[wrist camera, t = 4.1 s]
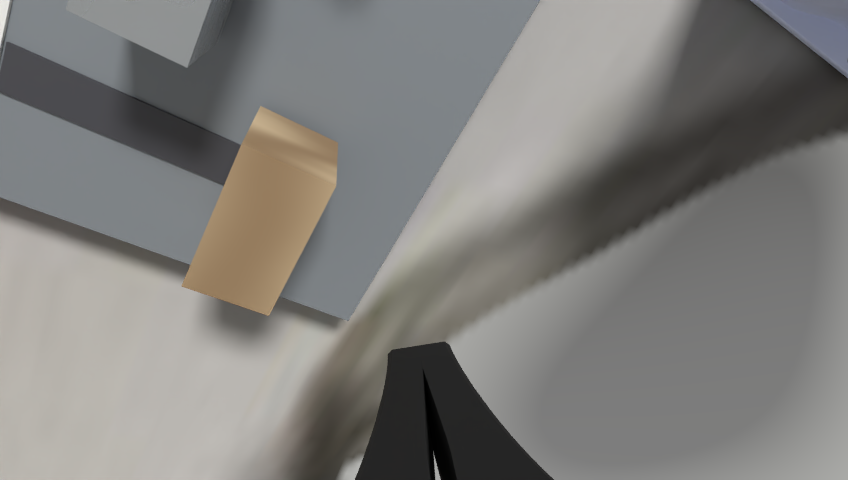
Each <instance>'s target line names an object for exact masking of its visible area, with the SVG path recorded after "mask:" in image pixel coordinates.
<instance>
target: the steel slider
mask: <svg viewBox="0 0 848 480" xmlns="http://www.w3.org/2000/svg"><path fill="white" fill-rule="evenodd" d="M232 3H233V0H68V2H67V6H66V10H67V11H69V12H71V13H73V14H75V15H77V16H80V17H82V18H84V19H86V20H88V21H90V22H92V23H94V24H96V25H98V26H100V27H103V28H105V29H107V30H109V31H111V32H113V33H115V34H117V35H119V36H121V37H124V38H126V39H128V40H130V41H132V42H134V43H136V44H138V45H140V46H142V47H145V48H147V49H149V50H151V51H153V52H155V53H157V54H159V55H161V56H163V57H165V58H168V59H170V60H172V61H174V62H176V63H178V64H180V65H182V66H184V67H186V68H188V67H189V66H190V65H191V64H192V63H194V62H195V61H196V60H197V59H198V58H199V57H201V56H202V55H203V54H204V53H205V52H207V51H208V50H209V49H210V48H211V47H212V46H214V45H215V44H216V43H217V42H218V40H219V38H220V35H221V32H222V30H223V27H224V24H225V22H226V19H227V16H228V14H229V11H230V8H231V5H232Z"/></svg>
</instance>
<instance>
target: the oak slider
mask: <svg viewBox="0 0 848 480" xmlns="http://www.w3.org/2000/svg"><path fill="white" fill-rule="evenodd" d="M337 156H338V142H336V141H334V140H331V139H329V138H327V137H325V136H323V135H321V134H319V133H317V132H315V131H312V130H310V129H308V128H306V127H304V126H302V125H300V124H298V123H296V122H294V121H291V120H289V119H287V118H285V117H283V116H281V115H279V114H277V113H275V112H272V111H270V110H268V109H266V108H264V107H262V106H260V108H259V110H258V112H257V114H256V116H255V118H254V120H253V122H252V124H251V126H250V128H249V130H248V132H247V134H246V136H245V138H244V140H243V142H242V144H241V146H240V149H239V151H238V154H237V156H236V158H235V161H234V163H233V165H232V168H231V170H230V172H229V175H228V177H227V180H226V182H225V184H224V187H223V189H222V191H221V194H220V196H219V199H218V201H217V203H216V206H215V208H214V210H213V213H212V215H211V217H210V220H209V222H208V225H207V227H206V229H205V232H204V234H203V236H202V239H201V241H200V243H199V246H198V248H197V251H196V253H195V255H194V258H193V260H192V262H191V265H190V267H189V270H188V272H187V274H186V277H185V279H184V281H183V284H182V287H185V288H188V289H191V290H194V291H197V292H200V293H203V294H206V295H209V296H211V297H214V298H217V299H220V300H223V301H226V302H229V303H232V304H235V305H238V306H241V307H244V308H247V309H250V310H253V311H256V312H259V313H261V314H264V315H267V316H269V315H270V313H271V311H272V309H273V307H274V305H275V303H276V301H277V299H278V297H279V295H280V294H281V292H282V290H283V288H284V286H285V284H286V282H287V280H288V278H289V276H290V274H291V272H292V270H293V269H294V267H295V265H296V263H297V261H298V259H299V257H300V255H301V253H302V251H303V249H304V247H305V245H306V243H307V242H308V240H309V238H310V236H311V234H312V232H313V230H314V228H315V226H316V224H317V222H318V220H319V218H320V216H321V215H322V213H323V211H324V209H325V207H326V205H327V203H328V201H329V199H330V197H331V195H332V193H333V191H334V189H335V188H336V181H337Z"/></svg>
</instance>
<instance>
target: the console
mask: <svg viewBox="0 0 848 480" xmlns="http://www.w3.org/2000/svg"><path fill="white" fill-rule="evenodd" d="M539 1H540V0H233V3H232V5H231V8H230V11H229V14H228V16H227V19H226V22H225V24H224V27H223V30H222V32H221V35H220V38H219V40H218V42H217V43H216V44H215V45H214V46H212V47H211V48H210V49H209V50H208V51H207V52H205V53H204V54H203V55H202V56H201V57H199V58H198V59H197V60H196V61H195V62H194V63H192V64H191V65H190V66H189V67H188V68H186V67H184V66H182V65H180V64H178V63H176V62H174V61H172V60H170V59H168V58H165V57H163V56H161V55H159V54H157V53H155V52H153V51H151V50H149V49H147V48H145V47H142V46H140V45H138V44H136V43H134V42H132V41H130V40H128V39H126V38H124V37H121V36H119V35H117V34H115V33H113V32H111V31H109V30H107V29H105V28H103V27H100V26H98V25H96V24H94V23H92V22H90V21H88V20H86V19H84V18H82V17H80V16H77V15H75V14H73V13H71V12H69V11H67V10H66V6H67V2H68V0H0V198H3V199H6V200H9V201H12V202H15V203H17V204H20V205H23V206H26V207H29V208H31V209H34V210H37V211H40V212H43V213H45V214H48V215H51V216H54V217H57V218H60V219H62V220H65V221H68V222H71V223H74V224H76V225H79V226H82V227H85V228H88V229H91V230H93V231H96V232H99V233H102V234H105V235H107V236H110V237H113V238H116V239H119V240H122V241H124V242H127V243H130V244H133V245H136V246H138V247H141V248H144V249H147V250H150V251H152V252H155V253H158V254H161V255H164V256H167V257H169V258H172V259H175V260H178V261H181V262H183V263H186V264H189V265H191V262H192V260H193V258H194V255H195V253H196V251H197V248H198V246H199V243H200V241H201V239H202V236H203V234H204V232H205V229H206V227H207V225H208V222H209V220H210V217H211V215H212V213H213V210H214V208H215V206H216V203H217V201H218V199H219V196H220V194H221V191H222V189H223V187H224V184H225V182H226V180H227V177H228V175H229V172H230V170H231V168H232V165H233V163H234V161H235V158H236V156H237V154H238V151H239V149H240V146H241V144H242V142H243V140H244V138H245V136H246V134H247V132H248V130H249V128H250V126H251V124H252V122H253V120H254V118H255V116H256V114H257V112H258V110H259V108H260V106H262V107H264V108H266V109H268V110H270V111H272V112H275V113H277V114H279V115H281V116H283V117H285V118H287V119H289V120H291V121H294V122H296V123H298V124H300V125H302V126H304V127H306V128H308V129H310V130H312V131H315V132H317V133H319V134H321V135H323V136H325V137H327V138H329V139H331V140H334V141H336V142H338V156H337V181H336V188H335V189H334V191H333V193H332V195H331V197H330V199H329V201H328V203H327V205H326V207H325V209H324V211H323V213H322V215H321V216H320V218H319V220H318V222H317V224H316V226H315V228H314V230H313V232H312V234H311V236H310V238H309V240H308V242H307V243H306V245H305V247H304V249H303V251H302V253H301V255H300V257H299V259H298V261H297V263H296V265H295V267H294V269H293V270H292V272H291V274H290V276H289V278H288V280H287V282H286V284H285V286H284V288H283V290H282V292H281V294H280V295H279V297H282V298H285V299H288V300H290V301H293V302H296V303H299V304H302V305H305V306H307V307H310V308H313V309H316V310H319V311H321V312H324V313H327V314H330V315H333V316H336V317H338V318H341V319H344V320H347V321H349V319H350V317H351V316H352V314H353V312H354V311H355V309H356V307H357V305H358V304H359V302H360V300H361V299H362V297H363V295H364V294H365V292H366V290H367V289H368V287H369V285H370V284H371V282H372V280H373V279H374V277H375V275H376V274H377V272H378V270H379V269H380V267H381V265H382V264H383V262H384V260H385V259H386V257H387V255H388V254H389V252H390V250H391V249H392V247H393V245H394V244H395V242H396V240H397V239H398V237H399V235H400V234H401V232H402V230H403V229H404V227H405V225H406V224H407V222H408V220H409V219H410V217H411V215H412V214H413V212H414V210H415V209H416V207H417V205H418V203H419V202H420V200H421V198H422V197H423V195H424V193H425V192H426V190H427V188H428V187H429V185H430V183H431V182H432V180H433V178H434V177H435V175H436V173H437V172H438V170H439V168H440V167H441V165H442V163H443V162H444V160H445V158H446V157H447V155H448V153H449V152H450V150H451V148H452V147H453V145H454V143H455V142H456V140H457V138H458V137H459V135H460V133H461V132H462V130H463V128H464V127H465V125H466V123H467V122H468V120H469V118H470V117H471V115H472V113H473V112H474V110H475V108H476V107H477V105H478V103H479V101H480V100H481V98H482V96H483V95H484V93H485V91H486V90H487V88H488V86H489V85H490V83H491V81H492V80H493V78H494V76H495V75H496V73H497V71H498V70H499V68H500V66H501V65H502V63H503V61H504V60H505V58H506V56H507V55H508V53H509V51H510V50H511V48H512V46H513V45H514V43H515V41H516V40H517V38H518V36H519V35H520V33H521V31H522V30H523V28H524V26H525V25H526V23H527V21H528V20H529V18H530V16H531V15H532V13H533V11H534V10H535V8H536V6H537V5H538V3H539Z"/></svg>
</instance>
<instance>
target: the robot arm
mask: <svg viewBox="0 0 848 480" xmlns="http://www.w3.org/2000/svg"><path fill="white" fill-rule="evenodd" d="M750 1H752V2H753V3H754V4H755V5H757V6H758V7H759V8H760V9H762V10H763V11H764V12H765V13H767V14H768V15H769V16H770V17H772V18H773V19H774V20H775V21H777V22H778V23H779V24H780V25H782V26H783V27H784V28H785V29H787V30H788V31H789V32H790V33H792V34H793V35H794V36H795V37H797V38H798V39H799V40H800V41H802V42H803V43H804V44H805V45H807V46H808V47H809V48H810V49H812V50H813V51H814V52H815V53H817V54H818V55H819V56H821V57H822V58H823V59H824V60H826V61H827V62H828V63H829V64H831V65H832V66H833V67H834V68H836V69H837V70H838V71H839V72H841V73H842V74H843V75H844V76H846V77H847V78H848V62H847V60H848V0H750ZM433 451H434V455H435V459H436V463H437V467H438V470H439V474H440V478H441V480H554V479H553V478H552V477H550V476H549V475H548V474H547V473H546V472H545V471H544V470H543V469H542V468H541V467H540V466H539V465H538V464H537V463H536V462H535V461H534V460H533V459H532V458H531V457H530V456H529V455H528V454H527V453H526V451H525V450H524V449H523V448H522V447H521V446H520V445H519V444H518V443H517V441H516V440H515V439H514V438H513V437H512V436H511V435H510V433H509V432H508V431H507V430H506V429H505V428H504V426H503V425H502V424H501V423H500V422H499V420H498V419H497V418H496V416H495V415H494V414H493V413H492V411H491V410H490V409H489V407H488V406H487V405H486V403H485V402H484V401H483V400H482V398H481V397H480V395H479V394H478V393H477V391H476V390H475V389H474V387H473V385H472V384H471V383H470V381H469V379H468V378H467V376H466V375H465V373H464V371H463V370H462V368H461V367H460V365H459V363H458V361H457V359H456V358H455V356H454V354H453V352H452V350H451V347H450V345H449V344H447V343H446V342H439V343H432V344H426V345H420V346H413V347H407V348H401V349H394V350H392V351H391V352H390V353H389V354H388V366H387V374H386V380H385V385H384V390H383V395H382V399H381V403H380V407H379V410H378V414H377V418H376V422H375V425H374V428H373V431H372V434H371V437H370V440H369V443H368V446H367V449H366V452H365V455H364V458H363V460H362V463H361V465H360V468H359V471H358V473H357V476H356V478H355V480H435V470H434V455H433Z"/></svg>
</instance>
